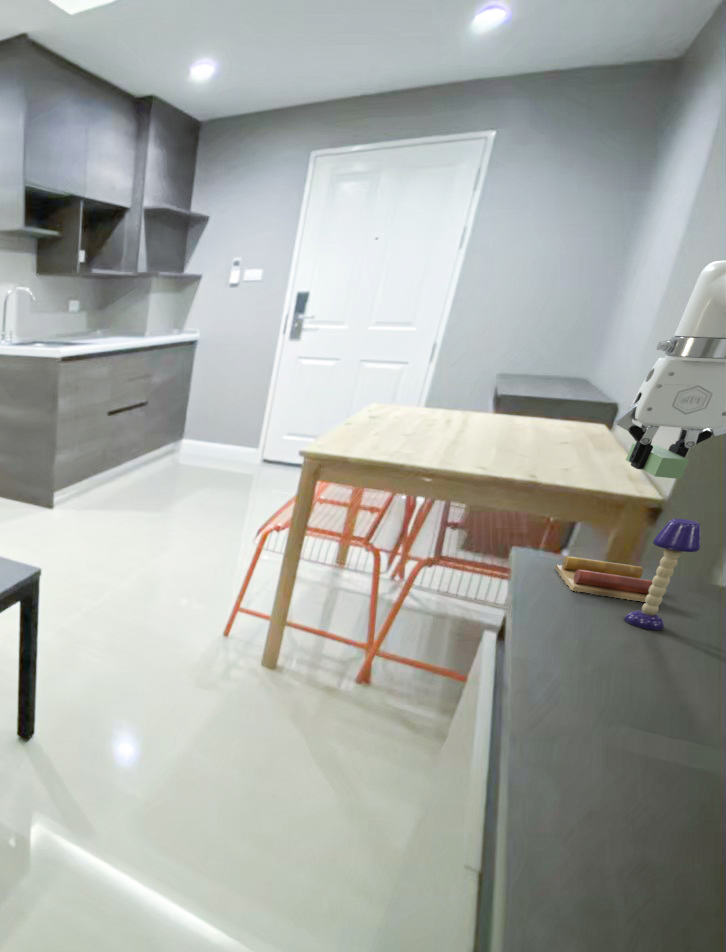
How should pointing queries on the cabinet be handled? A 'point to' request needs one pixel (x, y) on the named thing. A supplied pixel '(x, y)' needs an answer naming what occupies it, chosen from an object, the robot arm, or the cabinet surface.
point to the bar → (663, 463)
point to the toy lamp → (666, 569)
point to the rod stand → (604, 578)
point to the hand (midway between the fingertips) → (652, 467)
